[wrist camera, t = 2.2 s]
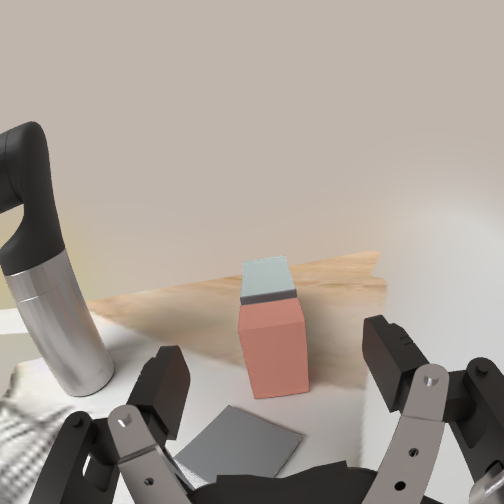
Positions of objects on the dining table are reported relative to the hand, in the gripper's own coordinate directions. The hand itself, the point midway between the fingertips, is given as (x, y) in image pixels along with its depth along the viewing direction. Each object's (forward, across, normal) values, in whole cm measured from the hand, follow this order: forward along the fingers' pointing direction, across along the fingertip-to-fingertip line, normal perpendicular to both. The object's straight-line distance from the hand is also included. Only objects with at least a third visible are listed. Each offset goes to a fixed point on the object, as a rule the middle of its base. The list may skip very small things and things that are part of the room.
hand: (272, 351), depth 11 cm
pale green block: (+20, 0, +14) cm, 24 cm away
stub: (+12, 0, +14) cm, 18 cm away
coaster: (+3, +4, +14) cm, 15 cm away
